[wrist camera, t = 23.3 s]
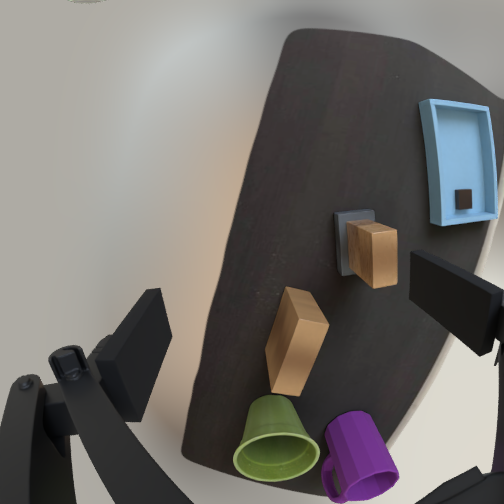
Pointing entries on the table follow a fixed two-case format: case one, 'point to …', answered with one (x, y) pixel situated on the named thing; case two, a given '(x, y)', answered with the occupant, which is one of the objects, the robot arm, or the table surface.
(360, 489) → the mug
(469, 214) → the pan
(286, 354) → the square wooden block
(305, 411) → the table surface
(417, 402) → the table surface
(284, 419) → the plant pot
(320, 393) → the table surface
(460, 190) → the dark grey flat block
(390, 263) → the brush
